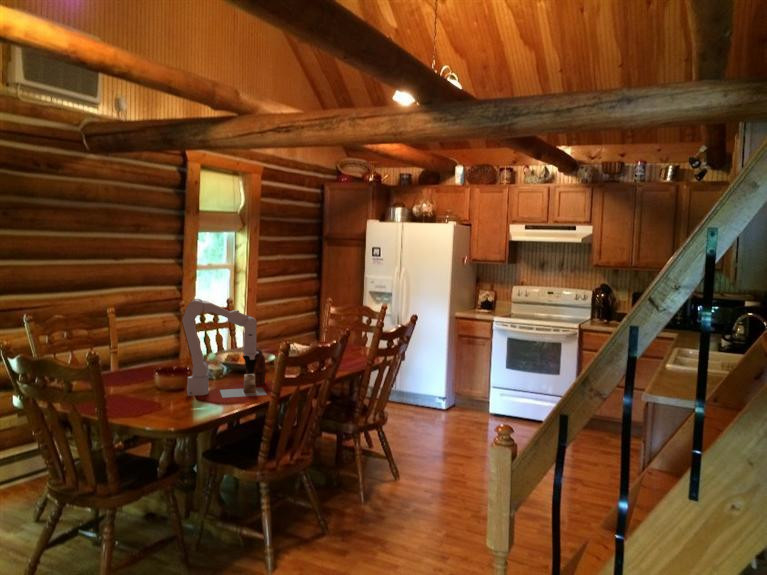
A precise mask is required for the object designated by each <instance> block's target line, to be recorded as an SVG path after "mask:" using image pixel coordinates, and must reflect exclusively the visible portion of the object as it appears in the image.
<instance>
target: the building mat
mask: <svg viewBox="0 0 767 575" xmlns="http://www.w3.org/2000/svg"><path fill="white" fill-rule="evenodd" d="M219 392H220V395H221V397H222V399H223V398H225V399H226V398H239V397H240V398H241V397H258V396H267V395H268V394H267V392H266V391H265V389H264V388H263V387H256V393H248V394H245V393H244V391H243V388H230V389H228V388H227V389H219Z"/></svg>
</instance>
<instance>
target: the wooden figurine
mask: <svg viewBox="0 0 767 575" xmlns="http://www.w3.org/2000/svg"><path fill="white" fill-rule="evenodd" d="M256 352H259V354H256V355H255V358H257V361H256V363H255V367H254V371H253V373H248V371H247V370H246V369H245V374H254V375H255V384H256V386H258V385H264V384H265V382H266V357H265V356H264V353H263V351H262V350H261V349H260V348H257V347H256Z"/></svg>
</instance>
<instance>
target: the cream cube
mask: <svg viewBox="0 0 767 575" xmlns="http://www.w3.org/2000/svg"><path fill="white" fill-rule="evenodd" d="M244 384H245V385H255V375H254V374H246V373H244V375H243V385H244Z"/></svg>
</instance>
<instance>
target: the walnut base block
mask: <svg viewBox="0 0 767 575" xmlns="http://www.w3.org/2000/svg"><path fill="white" fill-rule="evenodd" d="M256 388H257V384H255V385H245V384H244V383H243V388H242V389H243V391H244V393H245V394H248V393H256Z"/></svg>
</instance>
